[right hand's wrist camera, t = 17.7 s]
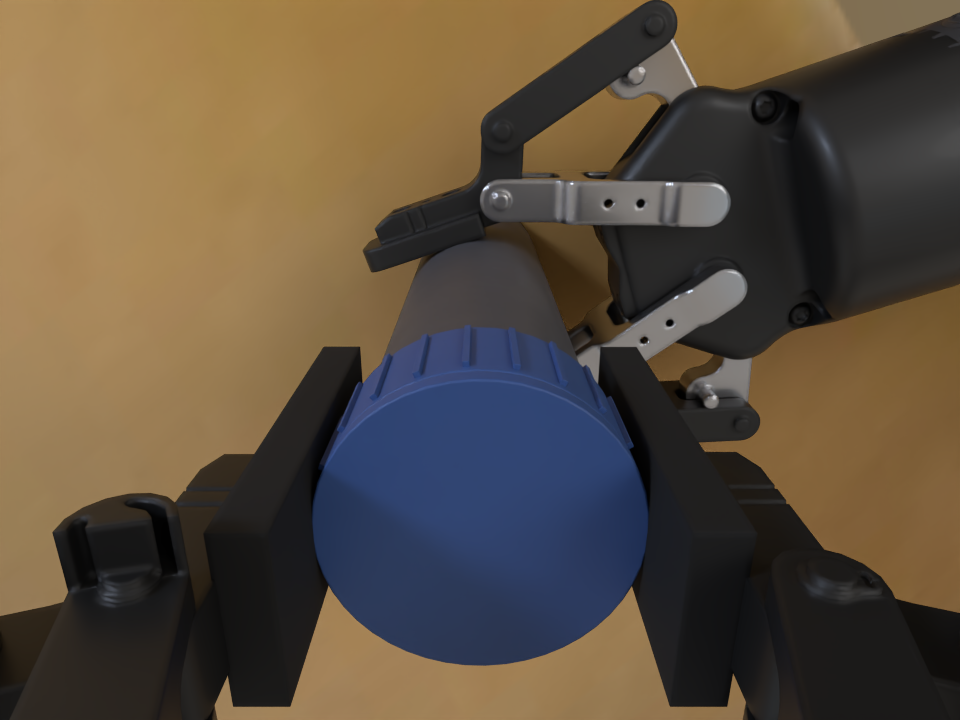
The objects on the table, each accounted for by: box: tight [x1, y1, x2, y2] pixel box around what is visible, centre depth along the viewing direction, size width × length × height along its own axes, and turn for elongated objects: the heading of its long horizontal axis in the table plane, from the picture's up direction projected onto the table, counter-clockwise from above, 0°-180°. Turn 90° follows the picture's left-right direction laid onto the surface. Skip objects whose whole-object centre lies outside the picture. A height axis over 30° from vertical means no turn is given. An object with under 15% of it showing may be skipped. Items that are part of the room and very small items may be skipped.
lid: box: [312, 325, 649, 666], centre depth 11 cm, size 5×5×2 cm
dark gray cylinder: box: [381, 222, 579, 364], centre depth 19 cm, size 5×5×18 cm
